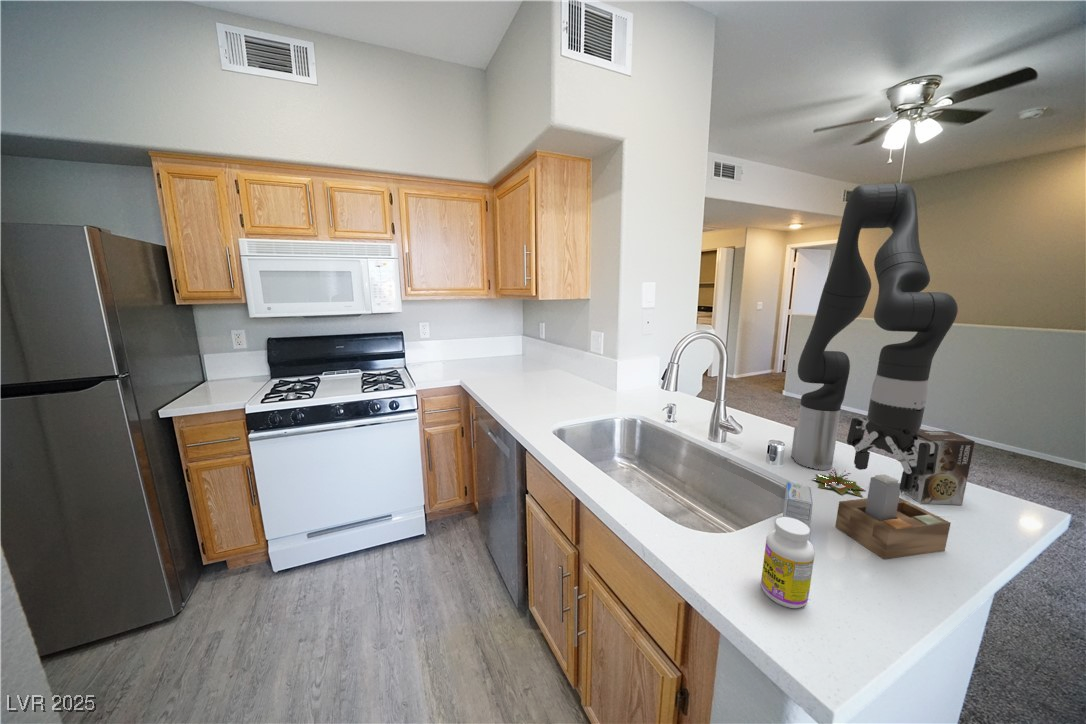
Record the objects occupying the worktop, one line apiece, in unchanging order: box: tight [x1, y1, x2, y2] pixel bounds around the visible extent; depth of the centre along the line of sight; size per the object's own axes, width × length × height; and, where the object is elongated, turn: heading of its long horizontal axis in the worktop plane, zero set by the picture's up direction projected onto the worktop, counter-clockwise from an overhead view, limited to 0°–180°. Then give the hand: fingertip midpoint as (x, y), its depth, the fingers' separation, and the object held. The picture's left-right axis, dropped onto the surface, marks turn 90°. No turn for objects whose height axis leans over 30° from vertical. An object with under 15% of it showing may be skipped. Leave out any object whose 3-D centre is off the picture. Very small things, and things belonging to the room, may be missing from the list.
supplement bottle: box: [760, 516, 816, 609], centre depth 61 cm, size 7×7×13 cm
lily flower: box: [813, 467, 866, 498], centre depth 97 cm, size 12×12×5 cm
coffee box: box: [900, 430, 976, 506], centre depth 90 cm, size 9×6×16 cm
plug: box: [865, 474, 901, 521], centre depth 74 cm, size 3×3×11 cm
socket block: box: [834, 497, 952, 560], centre depth 76 cm, size 10×14×6 cm
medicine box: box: [782, 481, 813, 541], centre depth 79 cm, size 8×4×9 cm, turn 148°
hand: (882, 479), depth 74 cm, fingers open, 8 cm apart
